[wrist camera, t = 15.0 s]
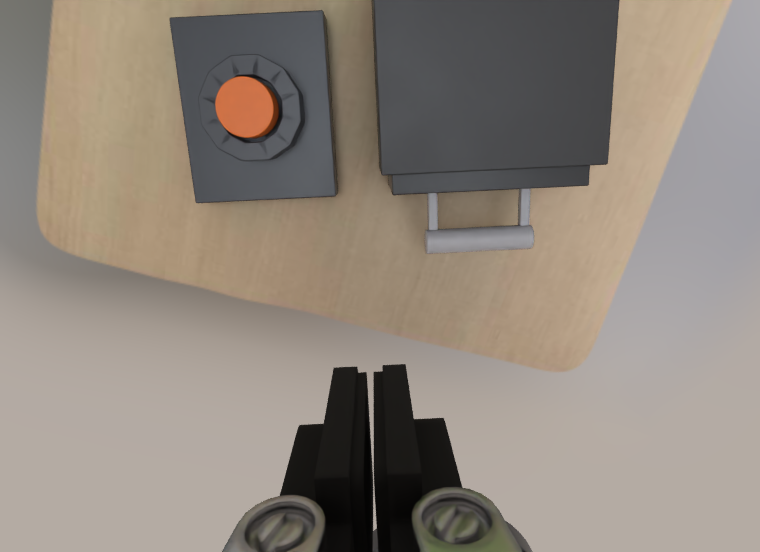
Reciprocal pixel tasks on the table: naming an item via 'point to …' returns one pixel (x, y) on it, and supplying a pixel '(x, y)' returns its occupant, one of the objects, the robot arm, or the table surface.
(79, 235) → the table surface
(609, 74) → the drawer cabinet casing
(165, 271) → the table surface
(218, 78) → the control pad
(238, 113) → the button
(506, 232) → the drawer with pull handle
